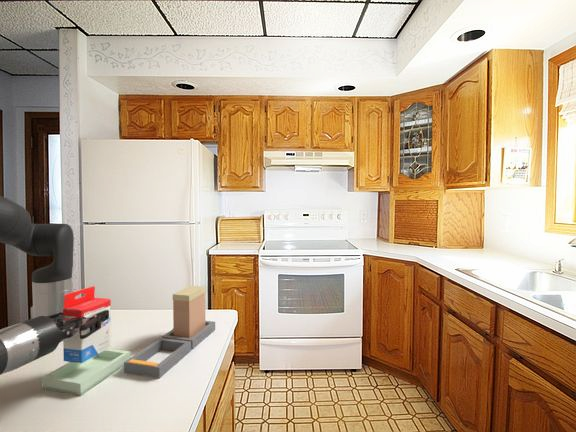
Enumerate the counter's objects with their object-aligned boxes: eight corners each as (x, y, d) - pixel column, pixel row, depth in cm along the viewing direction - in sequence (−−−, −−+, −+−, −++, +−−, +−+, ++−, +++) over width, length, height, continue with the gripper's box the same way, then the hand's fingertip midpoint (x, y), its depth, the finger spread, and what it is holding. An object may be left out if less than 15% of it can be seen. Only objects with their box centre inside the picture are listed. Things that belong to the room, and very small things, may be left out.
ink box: (81, 364, 66) (80, 296, 66) (62, 361, 67) (61, 294, 67) (111, 346, 74) (111, 286, 74) (94, 344, 75) (93, 285, 75)
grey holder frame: (124, 372, 72) (124, 361, 72) (188, 326, 99) (188, 317, 98) (159, 378, 70) (159, 366, 70) (215, 329, 96) (215, 320, 96)
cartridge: (173, 343, 87) (172, 294, 86) (190, 330, 96) (190, 285, 95) (189, 345, 86) (189, 295, 85) (205, 331, 95) (205, 286, 94)
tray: (42, 388, 66) (42, 377, 66) (97, 356, 79) (96, 346, 79) (80, 395, 63) (80, 383, 63) (130, 361, 77) (130, 351, 77)
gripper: (51, 327, 55) (123, 299, 71) (-9, 320, 58) (73, 295, 75) (52, 369, 55) (123, 331, 72) (-8, 359, 58) (73, 325, 75)
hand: (97, 313), depth 73 cm, fingers closed on ink box, 5 cm apart
